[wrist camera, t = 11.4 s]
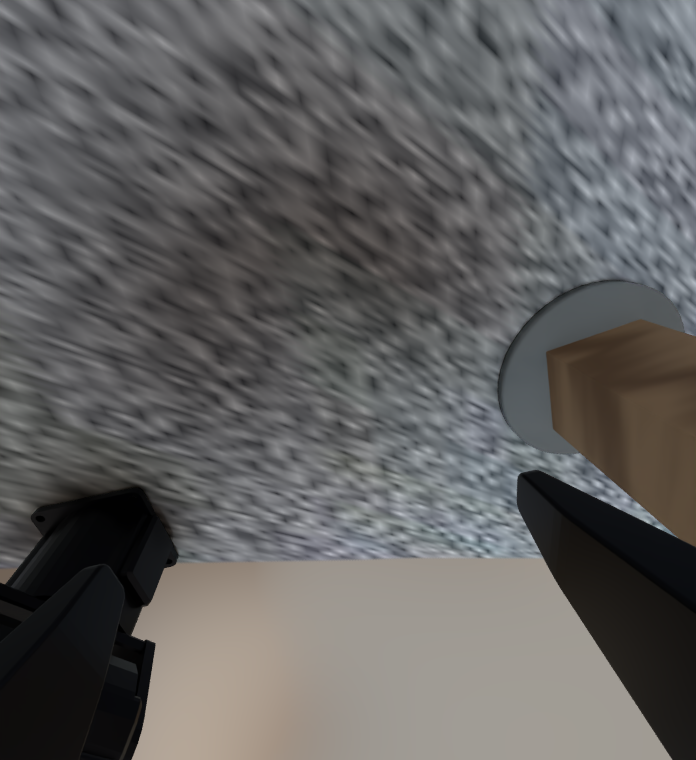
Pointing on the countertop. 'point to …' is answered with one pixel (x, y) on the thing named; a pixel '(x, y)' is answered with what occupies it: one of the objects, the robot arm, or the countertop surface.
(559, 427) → the walnut block
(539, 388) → the slate coaster
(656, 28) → the countertop surface
